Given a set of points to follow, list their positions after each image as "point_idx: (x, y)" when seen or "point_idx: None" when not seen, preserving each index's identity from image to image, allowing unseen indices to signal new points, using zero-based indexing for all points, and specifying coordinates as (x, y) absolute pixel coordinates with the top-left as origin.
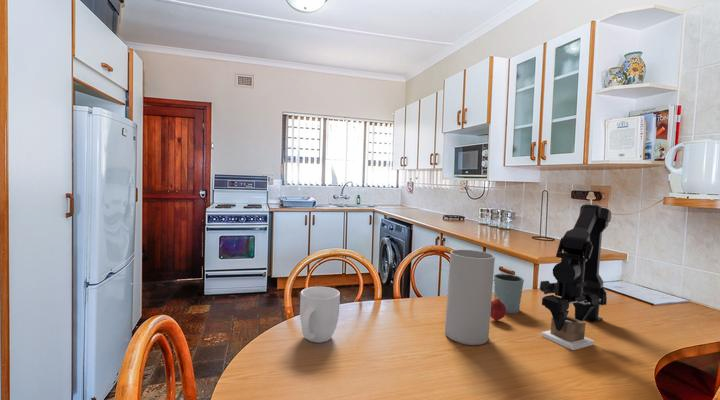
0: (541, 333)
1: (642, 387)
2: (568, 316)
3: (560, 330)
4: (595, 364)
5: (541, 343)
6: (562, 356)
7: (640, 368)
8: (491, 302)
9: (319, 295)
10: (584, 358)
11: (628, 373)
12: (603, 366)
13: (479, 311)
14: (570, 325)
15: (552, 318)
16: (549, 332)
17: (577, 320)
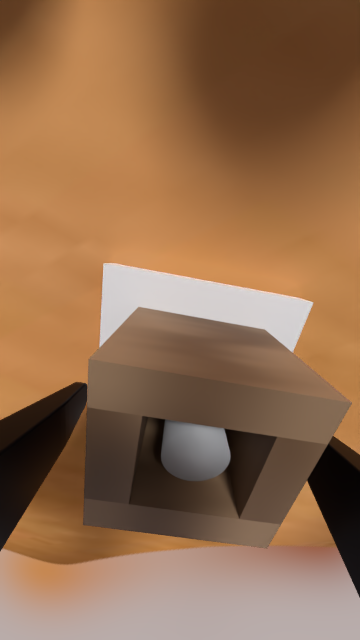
0: (107, 264)
1: (65, 555)
2: (320, 439)
3: (84, 406)
4: (72, 481)
5: (26, 312)
6: (9, 412)
7: (175, 538)
8: None
9: None
10: (79, 454)
11: (110, 531)
12: (83, 495)
13: None
14: (87, 508)
15: (93, 363)
16: (150, 295)
17: (261, 511)
